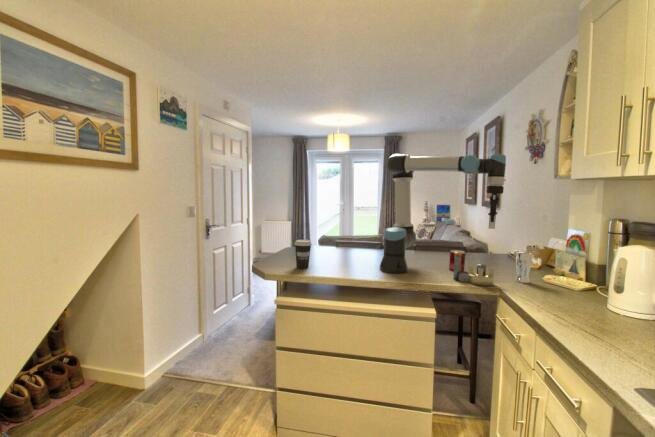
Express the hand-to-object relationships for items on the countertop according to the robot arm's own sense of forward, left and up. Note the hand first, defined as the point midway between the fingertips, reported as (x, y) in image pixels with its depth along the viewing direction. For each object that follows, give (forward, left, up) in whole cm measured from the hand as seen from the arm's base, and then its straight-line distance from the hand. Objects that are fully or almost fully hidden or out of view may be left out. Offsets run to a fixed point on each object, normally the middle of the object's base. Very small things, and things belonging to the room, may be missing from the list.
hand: (491, 227), depth 165 cm
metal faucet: (-6, -12, -26) cm, 29 cm away
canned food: (-17, +11, -27) cm, 34 cm away
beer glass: (+15, +5, -27) cm, 31 cm away
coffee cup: (-91, -36, -27) cm, 101 cm away
